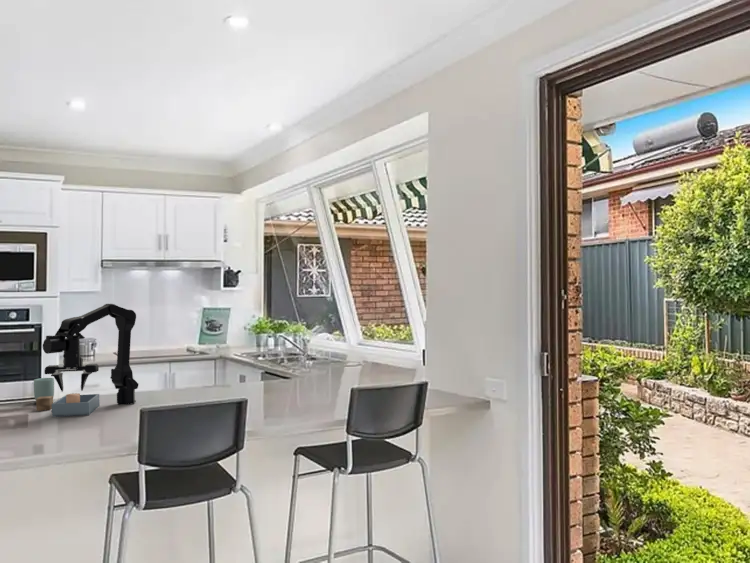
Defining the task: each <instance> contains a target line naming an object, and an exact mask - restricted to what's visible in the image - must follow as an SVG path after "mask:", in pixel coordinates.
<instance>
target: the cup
mask: <svg viewBox="0 0 750 563" xmlns="http://www.w3.org/2000/svg"><path fill="white" fill-rule="evenodd" d="M33 396H34V399H35V401H36V399H37V398H39V397H44V396H53V398H54V397H55V378H53V377H42V378H41V377H40V378H35V379H33Z"/></svg>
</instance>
